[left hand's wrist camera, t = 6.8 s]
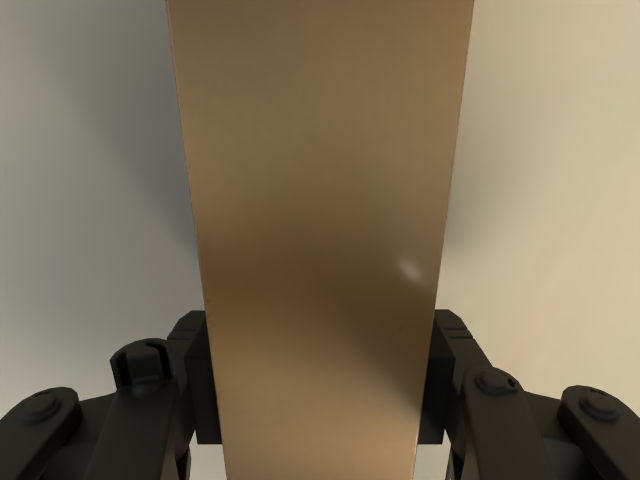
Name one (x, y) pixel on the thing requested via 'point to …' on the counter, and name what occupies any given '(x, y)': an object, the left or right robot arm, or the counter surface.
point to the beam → (319, 220)
